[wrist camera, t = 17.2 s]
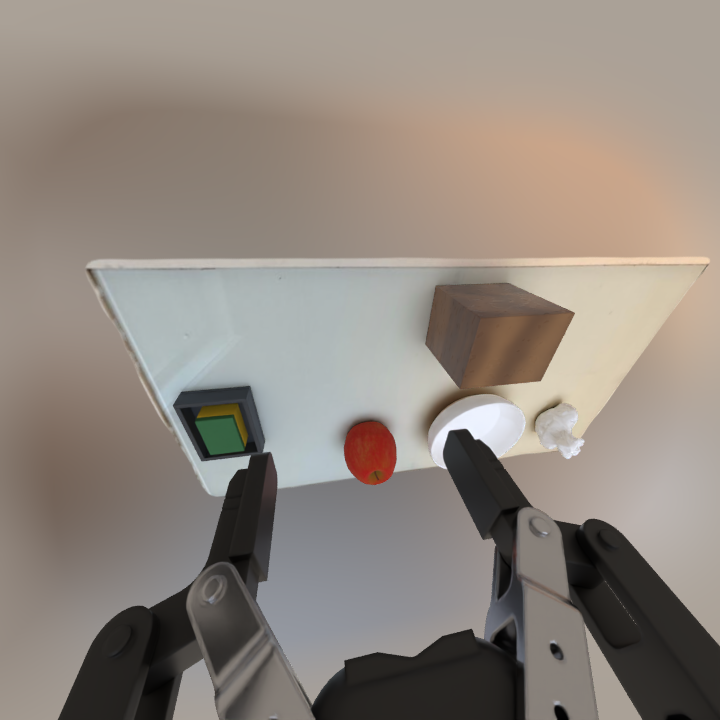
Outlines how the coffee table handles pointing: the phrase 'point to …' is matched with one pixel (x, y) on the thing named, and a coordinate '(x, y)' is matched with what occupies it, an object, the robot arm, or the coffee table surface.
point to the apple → (370, 452)
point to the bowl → (478, 424)
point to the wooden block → (494, 333)
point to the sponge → (222, 428)
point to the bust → (559, 430)
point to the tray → (194, 400)
